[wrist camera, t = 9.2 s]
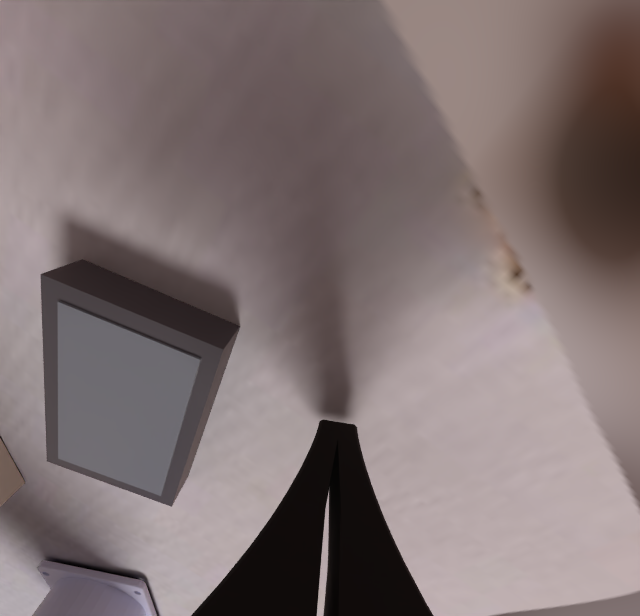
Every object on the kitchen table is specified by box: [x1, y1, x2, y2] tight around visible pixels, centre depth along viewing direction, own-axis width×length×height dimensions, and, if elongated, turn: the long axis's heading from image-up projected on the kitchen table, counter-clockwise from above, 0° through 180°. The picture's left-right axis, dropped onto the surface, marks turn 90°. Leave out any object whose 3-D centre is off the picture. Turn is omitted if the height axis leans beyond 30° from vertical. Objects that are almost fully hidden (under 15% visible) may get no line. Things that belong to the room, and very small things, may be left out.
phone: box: [41, 260, 240, 507], centre depth 12 cm, size 10×6×2 cm, turn 157°
